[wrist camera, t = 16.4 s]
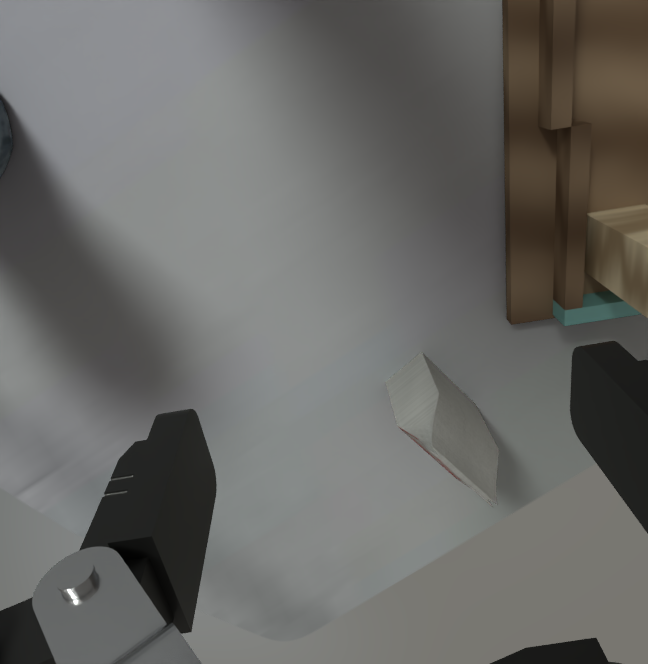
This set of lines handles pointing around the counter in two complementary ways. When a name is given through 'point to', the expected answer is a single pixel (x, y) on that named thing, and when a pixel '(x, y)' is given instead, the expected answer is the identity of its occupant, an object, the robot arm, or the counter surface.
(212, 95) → the counter surface
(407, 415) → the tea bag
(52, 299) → the counter surface
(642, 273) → the maple peg
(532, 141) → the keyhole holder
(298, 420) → the counter surface
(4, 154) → the moka pot
